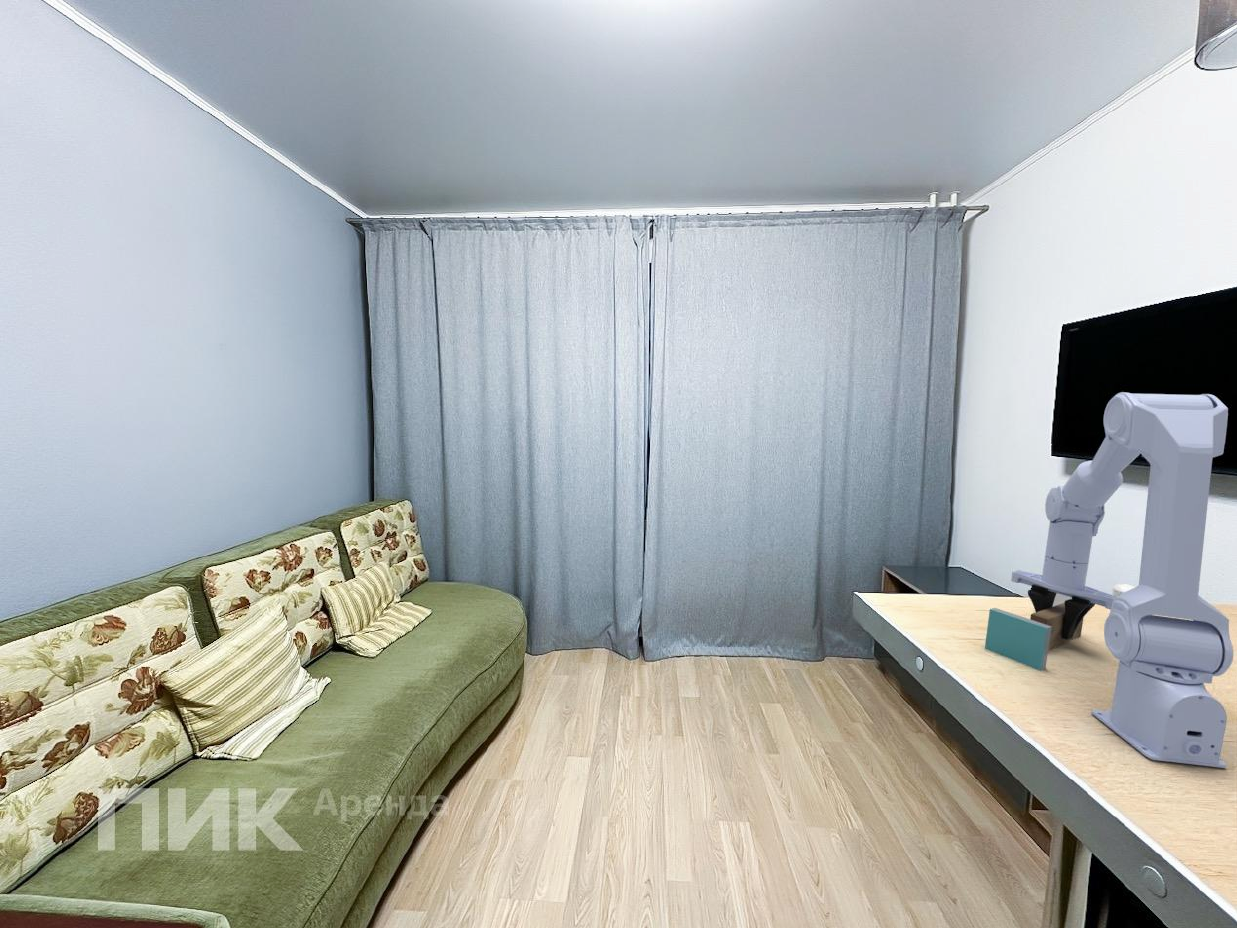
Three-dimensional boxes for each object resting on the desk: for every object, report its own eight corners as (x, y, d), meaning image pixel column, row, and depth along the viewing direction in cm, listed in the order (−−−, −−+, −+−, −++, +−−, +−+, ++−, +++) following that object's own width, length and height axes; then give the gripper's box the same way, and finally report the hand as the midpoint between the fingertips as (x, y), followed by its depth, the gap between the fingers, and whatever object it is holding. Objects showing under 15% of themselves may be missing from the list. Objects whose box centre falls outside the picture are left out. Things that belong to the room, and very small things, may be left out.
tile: (1045, 668, 82) (1051, 626, 81) (1040, 671, 81) (1046, 628, 80) (989, 646, 89) (994, 607, 88) (984, 648, 88) (989, 609, 87)
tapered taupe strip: (1042, 653, 87) (1047, 619, 87) (1026, 647, 89) (1030, 614, 89) (1080, 637, 94) (1085, 605, 93) (1064, 632, 96) (1068, 601, 95)
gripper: (1132, 568, 85) (1119, 647, 87) (1029, 545, 98) (1019, 614, 100) (1113, 574, 82) (1100, 655, 84) (1009, 549, 95) (1000, 620, 96)
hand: (1055, 633), depth 91 cm, fingers open, 3 cm apart
